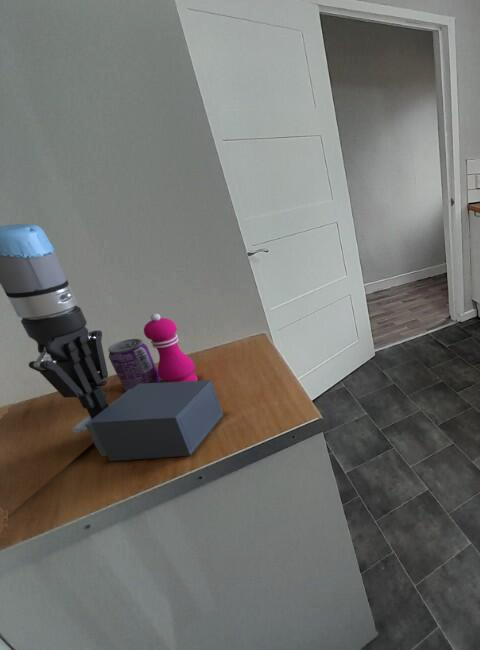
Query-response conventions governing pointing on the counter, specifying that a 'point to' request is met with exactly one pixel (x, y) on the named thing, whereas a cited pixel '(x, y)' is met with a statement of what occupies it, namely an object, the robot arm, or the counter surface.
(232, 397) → the counter surface
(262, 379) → the counter surface
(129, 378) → the beverage can
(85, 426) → the drawer
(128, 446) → the cabinet
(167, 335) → the pepper mill
